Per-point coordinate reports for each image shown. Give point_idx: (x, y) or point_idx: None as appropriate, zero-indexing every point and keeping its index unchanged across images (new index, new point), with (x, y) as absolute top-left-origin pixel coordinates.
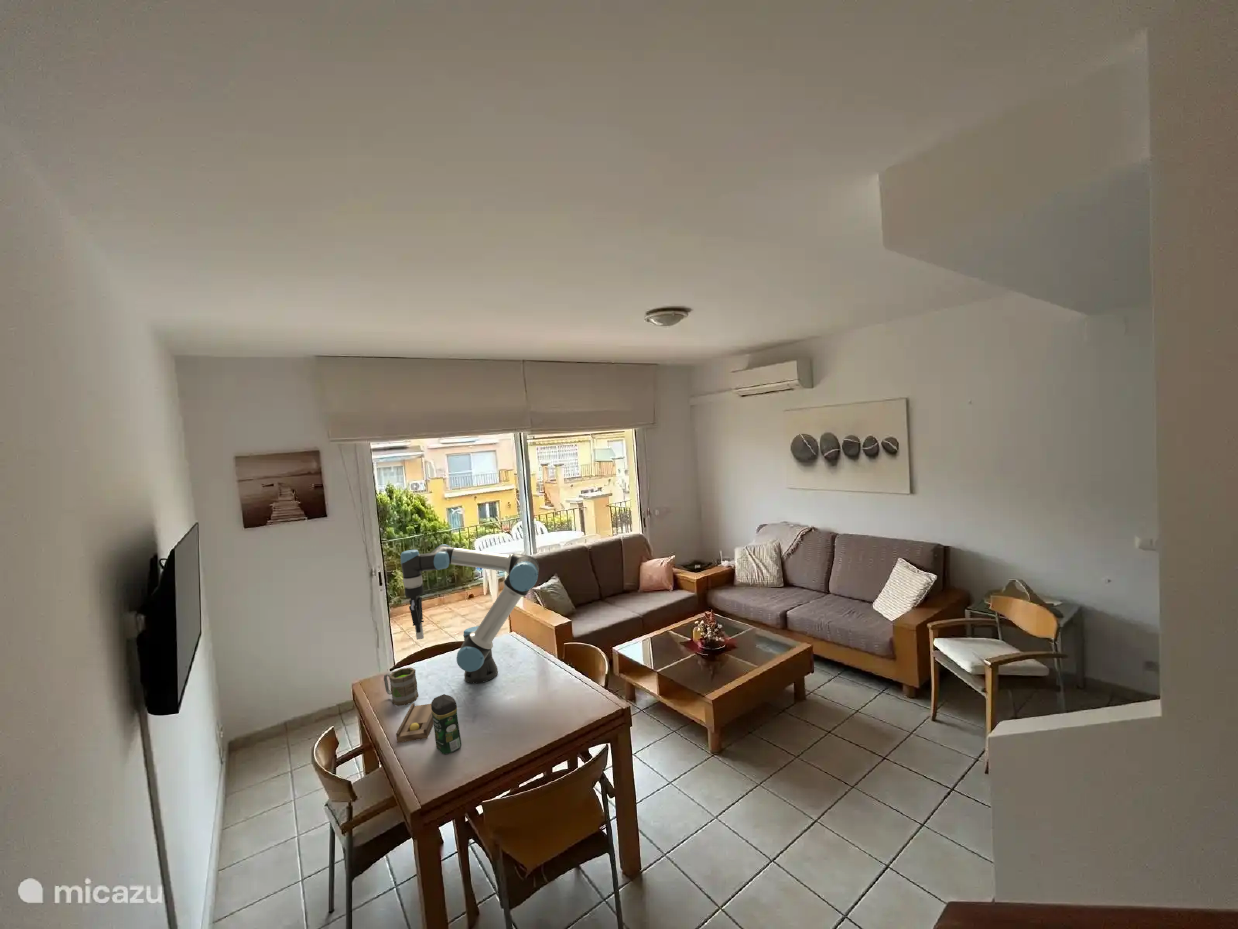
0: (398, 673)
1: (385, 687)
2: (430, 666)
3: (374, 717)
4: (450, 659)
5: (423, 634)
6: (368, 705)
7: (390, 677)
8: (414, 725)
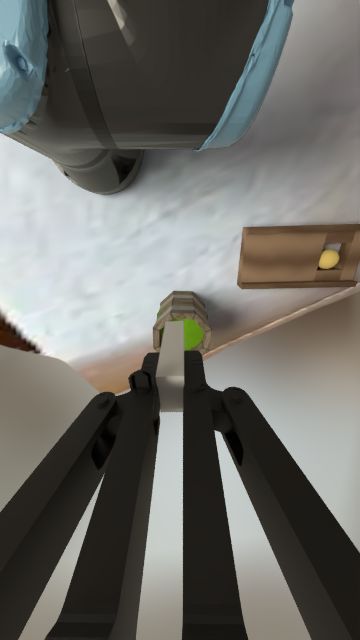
0: None
1: None
2: (43, 301)
3: (230, 345)
4: (4, 262)
5: (164, 329)
6: None
7: None
8: (338, 257)
